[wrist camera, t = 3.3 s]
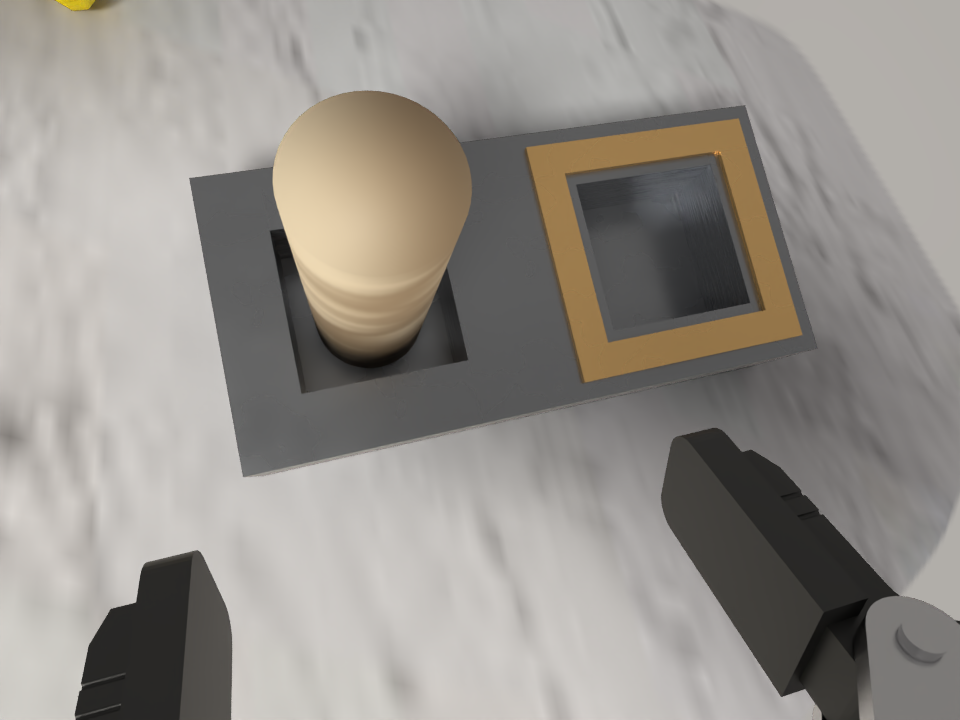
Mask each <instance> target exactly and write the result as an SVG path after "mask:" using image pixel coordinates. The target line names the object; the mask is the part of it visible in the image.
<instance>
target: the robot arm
mask: <svg viewBox="0 0 960 720" xmlns="http://www.w3.org/2000/svg"><path fill="white" fill-rule="evenodd" d="M661 501H662V508H663V512H664V515H665V518H666V520H667V523H668V525H669V526H670V528H671V530H672V531H673V533H674V534H675V536H676V537H677V539H678V540H679V542H680V544H681V545H682V547H683V548H684V550H685V551H686V553H687V554H688V556H689V557H690V559H691V560H692V562H693V563H694V565H695V566H696V568H697V569H698V571H699V572H700V574H701V575H702V577H703V579H704V580H705V582H706V583H707V585H708V586H709V588H710V589H711V591H712V592H713V594H714V595H715V597H716V598H717V600H718V601H719V603H720V604H721V606H722V607H723V609H724V610H725V612H726V614H727V615H728V617H729V618H730V620H731V621H732V623H733V624H734V626H735V627H736V629H737V630H738V632H739V633H740V635H741V636H742V638H743V639H744V641H745V642H746V644H747V645H748V647H749V649H750V650H751V652H752V653H753V655H754V656H755V658H756V659H757V661H758V662H759V664H760V665H761V667H762V668H763V670H764V671H765V673H766V674H767V676H768V677H769V679H770V680H771V682H772V684H773V685H774V687H775V688H776V690H777V691H778V693H779V694H780V696H781V697H783V696H786V695H789V694H792V693H794V692H797V691H800V690H803V689H806V691H807V692H808V693H809V695H810V696H811V698H812V699H813V701H814V702H815V705H814V708H813V716H812V719H813V720H960V621H955V620H954V619H953V618H951V617H950V616H949V615H947V614H946V613H944V612H943V611H941V610H939V609H938V608H936V607H934V606H933V605H930V604H928V603H926V602H924V601H920V600H917V599H914V598H909V597H903V596H899V595H898V594H897V593H895V592H894V591H893V590H892V589H891V588H890V587H889V586H888V585H887V584H886V583H885V582H884V581H883V580H882V579H881V577H880V576H879V575H878V574H877V573H876V572H875V571H874V570H873V569H872V568H871V567H870V565H869V564H868V563H867V562H866V561H865V560H864V559H863V558H862V557H861V556H860V554H859V553H858V552H857V551H856V550H855V549H854V548H853V547H852V546H851V545H850V543H849V542H848V541H847V540H846V539H845V538H844V537H843V536H842V535H841V534H840V533H839V531H838V530H837V529H836V528H835V527H834V526H833V525H832V524H831V523H830V522H829V520H828V519H827V518H826V517H825V516H824V515H820V514H819V511H818V508H817V507H816V506H815V505H814V504H813V503H812V502H811V501H810V500H809V499H808V497H807V496H806V495H804V496H803V495H802V493H801V490H800V489H799V488H798V486H797V485H796V484H795V483H794V482H793V481H792V480H791V479H790V478H789V477H788V476H787V474H786V473H785V472H784V471H783V470H782V469H781V468H780V467H779V466H777V465H775V464H774V463H772V462H770V461H769V460H767V459H766V458H764V457H762V456H761V455H759V454H758V453H756V452H754V451H753V450H749V451H745V452H741V451H740V450H739V448H738V447H737V446H736V445H735V444H734V443H733V442H732V440H731V439H730V438H729V437H728V436H727V435H726V434H725V433H724V432H723V431H722V430H720V429H718V428H711V429H707V430H703V431H699V432H694V433H690V434H686V435H682V436H678V437H676V438H674V439H673V441H672V444H671V448H670V453H669V458H668V463H667V468H666V473H665V478H664V483H663V488H662V494H661ZM81 684H82V691H79V696H78V701H77V706H76V711H75V717H76V720H231V689H232V633H231V625H230V620H229V615H228V611H227V608H226V605H225V603H224V601H223V599H222V596H221V594H220V592H219V590H218V588H217V586H216V583H215V581H214V579H213V577H212V575H211V573H210V570H209V568H208V566H207V564H206V562H205V560H204V557H203V556H202V554H201V553H200V552H199V551H198V550H196V551H192V552H188V553H184V554H180V555H175V556H171V557H167V558H163V559H159V560H155V561H150V562H147V563H145V564H144V566H143V568H142V571H141V575H140V581H139V588H138V594H137V601H136V603H133V604H129V605H125V606H121V607H117V608H113V609H111V610H110V611H109V613H108V615H107V616H106V618H105V620H104V621H103V623H102V625H101V626H100V628H99V630H98V631H97V633H96V635H95V636H94V638H93V639H92V641H91V643H90V644H89V647H88V652H87V657H86V662H85V667H84V672H83V677H82V682H81Z"/></svg>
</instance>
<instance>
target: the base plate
mask: <svg viewBox="0 0 960 720" xmlns="http://www.w3.org/2000/svg"><path fill="white" fill-rule="evenodd" d="M460 145H461V147H462V149H463V151H464V153H465V156H466V158H467V161H468V165H469V168H470V174H471V180H472V196H471V204H470V208H469V212H468V216H467V218H466V221H465V223H464V225H463V228H462V230H461V233H460V235H459V238H458V240H457V242H456V245H455V247H454V250H453V252H452V255H451V257H450V259H449V262H448V264H447V267H446V269H445V272H444V274H443V276H442V279H441V281H440V284H439V286H438V289H437V291H436V293H435V296H434V298H433V301H432V303H431V306H430V308H429V310H428V313H427V315H426V318H425V320H424V323H423V325H422V327H421V330H420V332H419V335H418V337H417V340H416V341H415V343H414V345H413V346H412V347H411V349H410V350H409V351H408V352H407V353H406V354H405V355H404V356H403V357H401V358H400V359H399V360H397V361H395V362H393V363H391V364H389V365H386V366H382V367H378V368H361V367H356V366H352V365H349V364H347V363H345V362H343V361H341V360H339V359H338V358H337V357H335V356H334V355H333V354H332V353H331V352H330V351H329V350H328V349H327V348H326V347H325V345H324V344H323V342H322V340H321V338H320V336H319V334H318V331H317V328H316V325H315V322H314V319H313V316H312V312H311V309H310V306H309V303H308V300H307V297H306V294H305V291H304V288H303V285H302V282H301V279H300V276H299V272H298V269H297V266H296V263H295V260H294V257H293V254H292V251H291V248H290V245H289V242H288V239H287V235H286V232H285V229H284V226H283V223H282V220H281V217H280V214H279V211H278V208H277V204H276V200H275V197H274V190H273V167H271V168H264V169H256V170H248V171H241V172H233V173H226V174H218V175H210V176H203V177H195V178H189V179H190V185H191V190H192V196H193V201H194V207H195V212H196V218H197V223H198V229H199V234H200V240H201V246H202V251H203V257H204V262H205V268H206V273H207V279H208V284H209V290H210V295H211V301H212V307H213V312H214V318H215V323H216V329H217V334H218V340H219V345H220V351H221V357H222V362H223V368H224V373H225V379H226V384H227V390H228V395H229V401H230V406H231V412H232V418H233V423H234V429H235V434H236V440H237V445H238V451H239V456H240V462H241V468H242V473H243V477H254V476H265V475H269V474H274V473H278V472H283V471H287V470H291V469H296V468H300V467H305V466H309V465H314V464H318V463H323V462H327V461H331V460H336V459H340V458H345V457H349V456H354V455H358V454H362V453H367V452H371V451H376V450H380V449H385V448H389V447H394V446H398V445H402V444H407V443H411V442H416V441H420V440H425V439H429V438H433V437H438V436H442V435H447V434H451V433H456V432H460V431H465V430H469V429H473V428H478V427H482V426H487V425H491V424H496V423H500V422H504V421H509V420H513V419H518V418H522V417H527V416H531V415H536V414H540V413H544V412H549V411H553V410H558V409H562V408H567V407H571V406H575V405H580V404H584V403H589V402H593V401H598V400H602V399H607V398H611V397H615V396H620V395H624V394H629V393H633V392H638V391H642V390H646V389H651V388H655V387H660V386H664V385H669V384H673V383H678V382H682V381H686V380H691V379H695V378H700V377H704V376H709V375H713V374H717V373H722V372H726V371H731V370H735V369H740V368H744V367H749V366H753V365H757V364H761V363H765V362H768V361H772V360H776V359H779V358H783V357H787V356H791V355H794V354H798V353H802V352H806V351H809V350H813V349H817V346H816V342H815V339H814V336H813V332H812V329H811V326H810V322H809V319H808V315H807V312H806V309H805V305H804V302H803V299H802V295H801V292H800V289H799V285H798V282H797V278H796V275H795V272H794V268H793V265H792V262H791V258H790V255H789V252H788V248H787V245H786V241H785V238H784V235H783V231H782V228H781V225H780V221H779V218H778V215H777V211H776V208H775V204H774V201H773V198H772V194H771V191H770V188H769V184H768V181H767V178H766V174H765V171H764V168H763V164H762V161H761V157H760V154H759V151H758V147H757V144H756V141H755V137H754V134H753V131H752V127H751V124H750V120H749V117H748V114H747V110H746V107H745V105H744V106H736V107H729V108H721V109H713V110H706V111H698V112H691V113H683V114H675V115H668V116H660V117H652V118H645V119H637V120H630V121H622V122H614V123H607V124H599V125H591V126H584V127H576V128H569V129H561V130H553V131H546V132H538V133H530V134H523V135H515V136H508V137H500V138H492V139H485V140H477V141H470V142H462V143H460Z"/></svg>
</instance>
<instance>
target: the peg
mask: <svg viewBox="0 0 960 720" xmlns="http://www.w3.org/2000/svg"><path fill="white" fill-rule="evenodd" d="M273 190H274V197H275V200H276V204H277V208H278V211H279V214H280V217H281V220H282V223H283V226H284V229H285V232H286V235H287V239H288V242H289V245H290V248H291V251H292V254H293V257H294V260H295V263H296V266H297V269H298V272H299V276H300V279H301V282H302V285H303V288H304V291H305V294H306V297H307V300H308V303H309V306H310V309H311V312H312V316H313V319H314V322H315V325H316V328H317V331H318V334H319V336H320V338H321V340H322V342H323V344H324V345H325V347H326V348H327V349H328V350H329V351H330V352H331V353H332V354H333V355H334V356H335V357H337V358H338V359H339V360H341V361H343V362H345V363H347V364H349V365H352V366H356V367H361V368H378V367H382V366H386V365H389V364H391V363H393V362H395V361H397V360H399V359H400V358H401V357H403V356H404V355H405V354H406V353H407V352H408V351H409V350H410V349H411V347H412V346H413V345H414V343H415V341H416V340H417V337H418V335H419V332H420V330H421V327H422V325H423V323H424V320H425V318H426V315H427V313H428V310H429V308H430V306H431V303H432V301H433V298H434V296H435V293H436V291H437V289H438V286H439V284H440V281H441V279H442V276H443V274H444V272H445V269H446V267H447V264H448V262H449V259H450V257H451V255H452V252H453V250H454V247H455V245H456V242H457V240H458V238H459V235H460V233H461V230H462V228H463V225H464V223H465V221H466V218H467V216H468V212H469V208H470V204H471V196H472V180H471V174H470V168H469V165H468V161H467V158H466V156H465V153H464V151H463V149H462V147H461V145H460V143H459V142H458V140H457V138H456V137H455V135H454V134H453V133H452V131H451V130H450V129H449V128H448V127H447V125H446V124H445V123H444V122H443V121H442V120H440V119H439V118H438V117H437V116H436V115H435V114H433V113H432V112H431V111H429V110H428V109H426V108H425V107H423V106H421V105H420V104H418V103H416V102H414V101H412V100H409V99H407V98H405V97H402V96H398V95H395V94H391V93H386V92H380V91H354V92H348V93H343V94H339V95H336V96H333V97H330V98H328V99H325V100H323V101H321V102H319V103H317V104H316V105H314V106H312V107H311V108H309V109H308V110H307V111H306V112H304V113H303V114H302V115H301V116H299V118H298V119H297V120H296V121H295V122H294V123H293V124H292V125H291V126H290V128H289V129H288V131H287V132H286V134H285V135H284V137H283V139H282V141H281V143H280V145H279V147H278V150H277V154H276V157H275V161H274V167H273Z"/></svg>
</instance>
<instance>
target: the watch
mask: <svg viewBox="0 0 960 720" xmlns="http://www.w3.org/2000/svg"><path fill="white" fill-rule="evenodd" d="M55 1H57V2H59V3H60V4H62V5H64V6H66V7H67V8H69V9H70V10H73V11H77V10H87V9H89V8H90V7H91V5H92V4H93V3H94V2H95V0H55Z"/></svg>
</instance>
